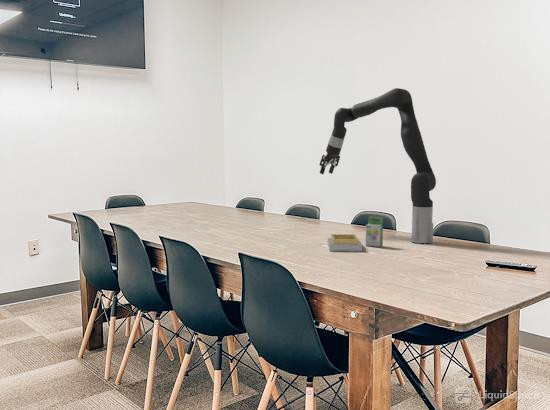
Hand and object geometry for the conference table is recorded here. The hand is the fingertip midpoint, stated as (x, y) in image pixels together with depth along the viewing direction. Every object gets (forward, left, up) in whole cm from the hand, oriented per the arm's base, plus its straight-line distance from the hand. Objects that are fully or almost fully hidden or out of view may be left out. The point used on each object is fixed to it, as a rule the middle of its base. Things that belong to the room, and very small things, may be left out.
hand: (325, 173), depth 289 cm
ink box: (-20, +46, -31) cm, 59 cm away
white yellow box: (-6, +51, -31) cm, 60 cm away
